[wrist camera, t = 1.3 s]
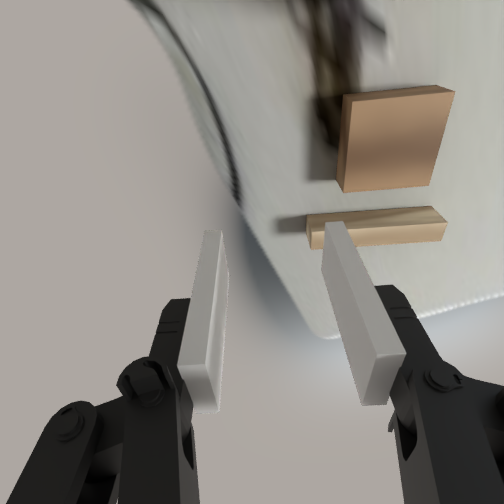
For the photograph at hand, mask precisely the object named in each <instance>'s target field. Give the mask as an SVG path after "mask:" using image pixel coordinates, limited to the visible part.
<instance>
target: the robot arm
mask: <svg viewBox="0 0 504 504" xmlns="http://www.w3.org/2000/svg"><path fill="white" fill-rule="evenodd" d="M321 270H322V274H323V277H324V281H325V284H326V287H327V291H328V294H329V297H330V301H331V304H332V307H333V311H334V314H335V317H336V321H337V324H338V327H339V331H340V334H341V337H342V341H343V344H344V348H345V351H346V354H347V357H348V361H349V364H350V368H351V371H352V374H353V378H354V381H355V384H356V388H357V391H358V394H359V398H360V401H361V405H362V406H367V405H386V404H387V401H388V399H389V396H390V397H391V400H392V402H393V405H394V408H395V411H394V413H393V415H392V417H391V420H390V422H389V425H388V432H392V430H393V429H394V432H395V439H396V446H397V453H398V460H399V468H400V475H401V482H402V489H403V496H404V504H504V386H501V385H497V384H493V383H488V382H484V381H480V380H475V379H472V378H469V377H466V376H464V375H462V374H461V373H460V372H459V371H458V370H457V369H456V368H455V367H454V366H452V365H450V364H449V363H447V362H445V361H443V360H442V358H441V357H440V356H439V354H438V352H437V351H436V349H435V347H434V345H433V344H432V342H431V340H430V338H429V337H428V335H427V333H426V331H425V330H424V328H423V326H422V325H421V323H420V321H419V319H417V316H416V314H415V312H414V311H413V309H411V305H410V304H409V302H408V300H407V298H406V297H405V295H404V294H403V293H402V292H401V291H399V290H398V289H397V288H396V287H395V286H394V285H381V286H374V285H373V283H372V281H371V278H370V276H369V274H368V272H367V270H366V268H365V266H364V264H363V262H362V260H361V258H360V256H359V253H358V251H357V249H356V247H355V245H354V243H353V241H352V239H351V237H350V235H349V233H348V231H347V228H346V226H345V224H344V222H343V221H337V222H325V232H324V244H323V256H322V268H321ZM228 285H229V271H228V265H227V259H226V253H225V247H224V241H223V234H222V230H209V231H205V232H204V236H203V242H202V246H201V251H200V256H199V261H198V265H197V271H196V276H195V280H194V285H193V290H192V295H191V298H186V299H171V300H170V301H169V303H168V304H167V305H166V306H165V308H164V309H163V310H162V313H161V317H160V320H159V325H158V327H157V330H156V335H155V337H154V340H153V344H152V347H151V351H150V354H149V357H142V358H140V359H138V360H135V361H133V362H132V363H131V364H129V365H128V366H127V367H126V368H125V369H124V370H123V372H122V373H121V374H120V376H119V379H118V381H117V385H116V386H117V387H118V388H119V390H120V392H121V393H122V395H123V396H121V397H119V398H117V399H114V400H111V401H109V402H106V403H103V404H101V405H98V406H95V407H94V406H93V405H92V404H91V403H90V402H86V401H77V402H73V403H70V404H68V405H66V406H65V407H63V408H61V409H60V410H59V411H58V412H57V413H56V414H55V415H54V416H52V418H51V419H50V420H49V422H48V423H47V425H46V426H45V428H44V430H43V432H42V434H41V436H40V438H39V440H38V442H37V444H36V446H35V448H34V450H33V452H32V454H31V456H30V458H29V460H28V461H27V463H26V466H25V467H24V469H23V471H22V473H21V475H20V477H19V479H18V481H17V483H16V485H15V487H14V489H13V491H12V493H11V495H10V497H9V499H8V501H7V503H6V504H116V503H117V499H118V504H200V500H199V488H198V476H197V465H196V452H195V441H194V430H193V426H192V423H191V419H192V412H193V407H194V410H195V412H196V414H202V413H219V412H220V411H219V410H220V397H221V384H222V369H223V355H224V341H225V328H226V314H227V300H228Z"/></svg>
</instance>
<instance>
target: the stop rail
mask: <svg viewBox="0 0 504 504" xmlns="http://www.w3.org/2000/svg"><path fill="white" fill-rule="evenodd" d="M337 221H343V222H344V224H345V226H346V228H347V231H348V233H349V235H350V237H351V239H352V241H353V243H354V245H355V247H359V246H373V245H388V244H403V243H418V242H433V241H441V240H442V237H443V234H444V232H445V229H446V226H447V224H448V222H447V221H446V220H445V219H444V218H443V217H442V216H441V215H440V214H439V213H438V212H437V211H436V210H435V209H434V208H433V207H432V206H427V207H413V208H398V209H384V210H370V211H356V212H342V213H328V214H314V215H307V218H306V234H307V238H308V241H309V245H310V248H311V250H314V249H323V244H324V232H325V222H337Z"/></svg>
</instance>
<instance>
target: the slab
mask: <svg viewBox="0 0 504 504" xmlns="http://www.w3.org/2000/svg"><path fill="white" fill-rule="evenodd" d="M454 95H455V91H452V90H449V89H446V88H443V87H440V86H437V85H433V86H423V87H413V88H403V89H393V90H383V91H373V92H363V93H353V94H344V95H343V102H342V114H341V126H340V138H339V150H338V162H337V174H336V181H337V182H338V184H339V186H340V188H341V190H342V191H343V193H348V192H360V191H372V190H384V189H395V188H407V187H419V186H429V183H430V180H431V176H432V172H433V169H434V165H435V162H436V158H437V155H438V151H439V148H440V144H441V141H442V137H443V134H444V130H445V126H446V123H447V119H448V116H449V112H450V109H451V105H452V102H453V98H454Z"/></svg>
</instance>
